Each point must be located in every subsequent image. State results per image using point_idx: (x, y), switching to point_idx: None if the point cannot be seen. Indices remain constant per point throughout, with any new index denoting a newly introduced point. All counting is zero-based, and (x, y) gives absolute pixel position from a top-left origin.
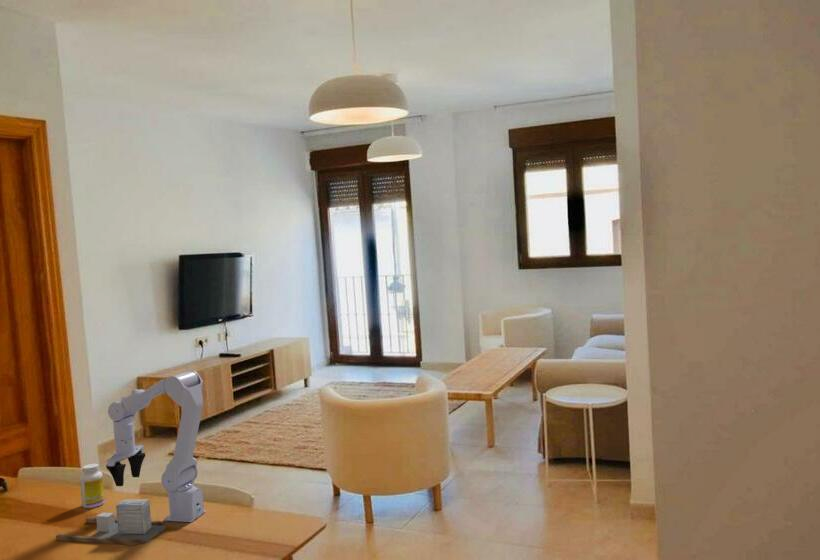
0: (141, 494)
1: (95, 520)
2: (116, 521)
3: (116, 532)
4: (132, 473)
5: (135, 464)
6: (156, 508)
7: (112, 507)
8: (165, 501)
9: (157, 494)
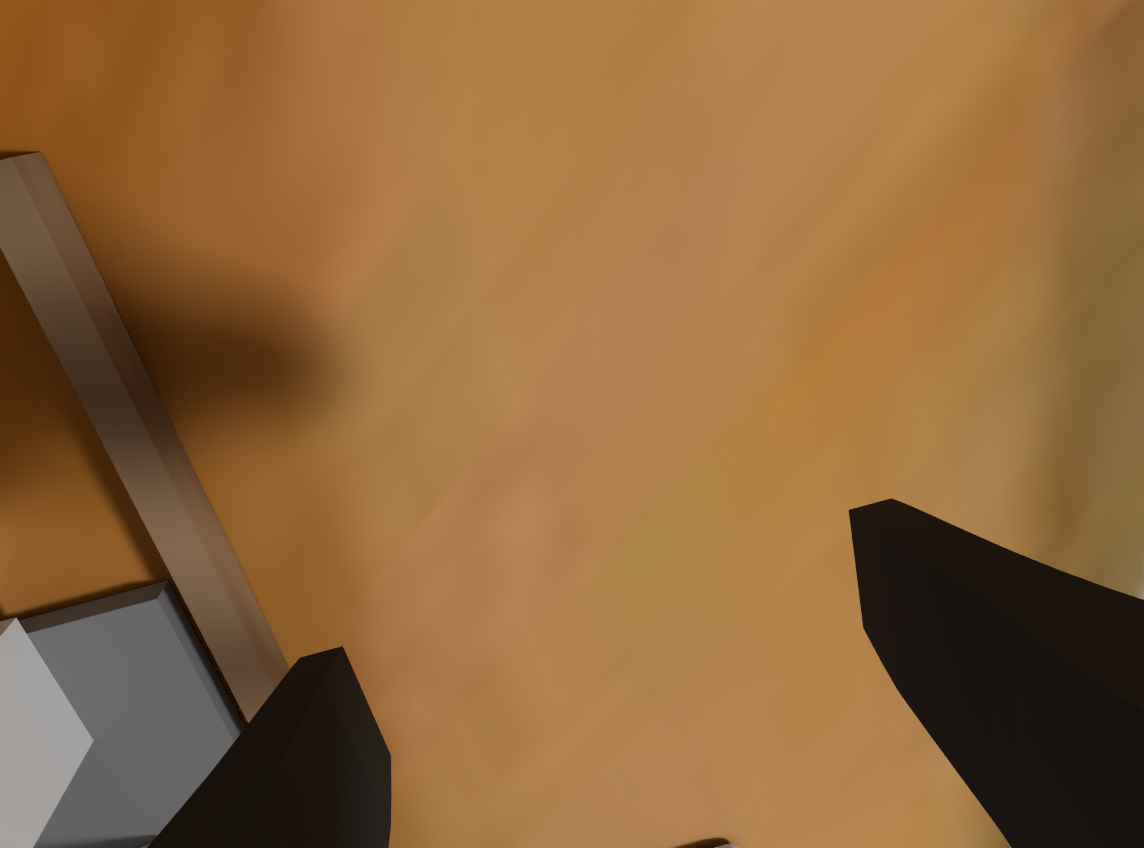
0: (1067, 10)
1: (54, 336)
2: (200, 614)
3: (43, 832)
4: (889, 563)
5: (1059, 820)
6: (713, 614)
7: (543, 21)
8: None
9: (1090, 259)
